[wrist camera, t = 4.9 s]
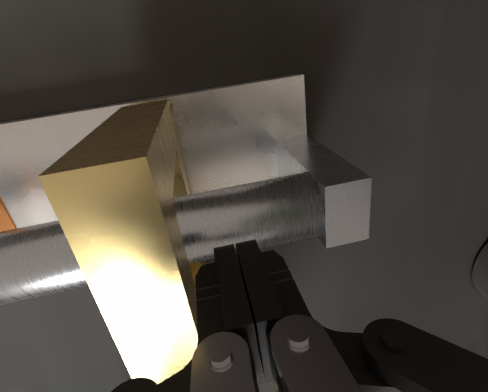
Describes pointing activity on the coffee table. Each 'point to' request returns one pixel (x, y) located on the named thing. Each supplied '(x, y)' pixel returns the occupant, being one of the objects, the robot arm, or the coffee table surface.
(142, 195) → the gold rectangular block
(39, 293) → the rail stand
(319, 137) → the coffee table surface
